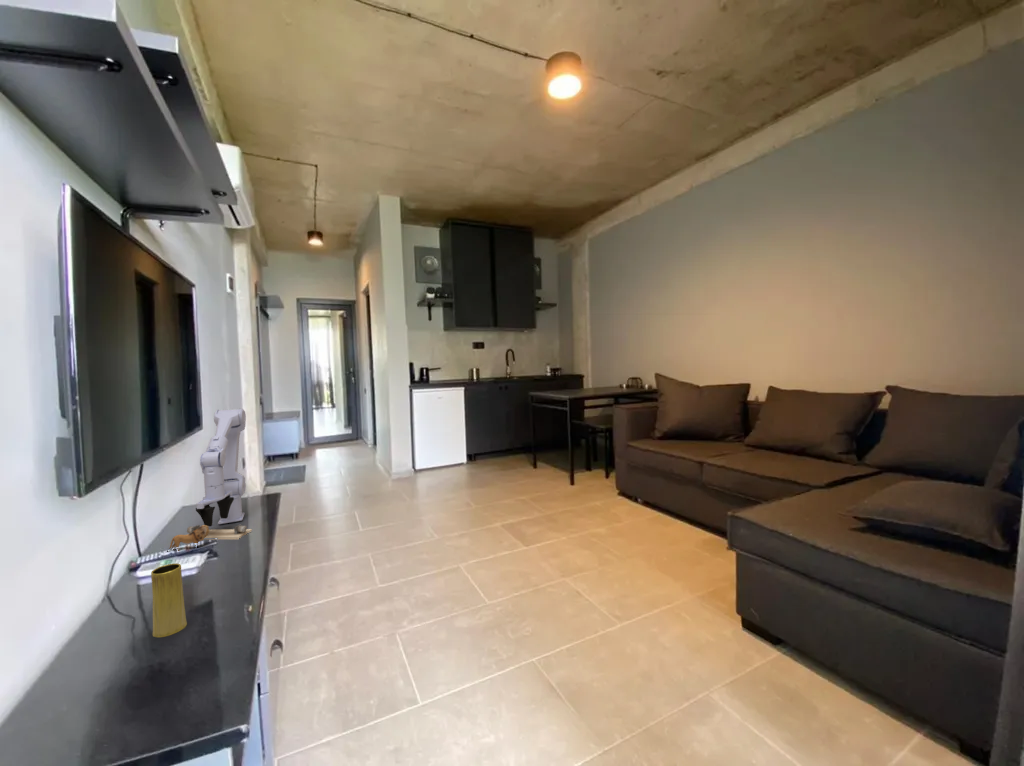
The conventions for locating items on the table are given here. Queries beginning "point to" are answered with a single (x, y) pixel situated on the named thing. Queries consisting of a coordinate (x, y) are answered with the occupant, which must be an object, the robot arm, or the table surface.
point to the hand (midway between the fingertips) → (216, 522)
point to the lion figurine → (191, 536)
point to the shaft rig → (224, 532)
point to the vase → (168, 600)
